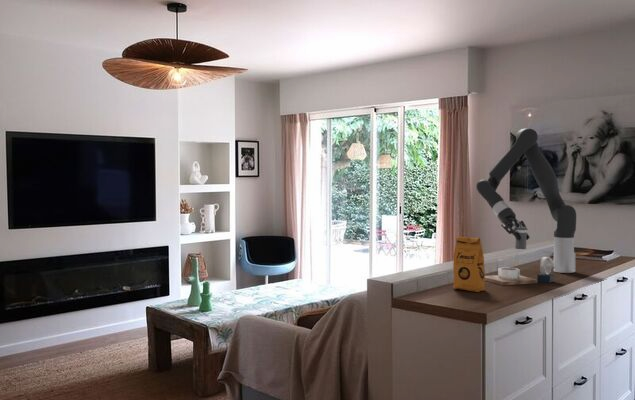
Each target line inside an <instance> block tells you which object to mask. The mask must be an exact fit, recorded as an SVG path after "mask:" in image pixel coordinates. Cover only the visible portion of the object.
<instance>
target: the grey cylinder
mask: <svg viewBox="0 0 635 400" xmlns="http://www.w3.org/2000/svg"><path fill="white" fill-rule="evenodd" d="M527 229H528V228H527V226H526V227H520V226H519V227H516V230H517V232H518V233H519V234H520V236H521V237H522V239H521V240H519V241H518V240H517V239H516V237H515V236H514V237H515V238H514V239H515V240H514V241H515V243H514V247H515V249H516V250H527V243H528V242H527V241H528V240H527V234H528V233H527V232H528V230H527Z"/></svg>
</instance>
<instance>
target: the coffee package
mask: <svg viewBox="0 0 635 400" xmlns="http://www.w3.org/2000/svg"><path fill="white" fill-rule="evenodd" d="M455 240H456V241H455V246H454V251H453V255H452V256H453V257H452V258H453V259H452V260H453V261H452V262H453V263H452V264H453V265H452V266H453V289H458V290H461V291H468V292H475V293H481V292H483V291H485V285H486V284H485V283H486V281H485V276H486V272H485V271H486V270H485V258H484V257H485V256H484V252H483V245H482V242H481V240H482V239H481V238H480V237H466V236H456V238H455ZM480 291H481V292H480Z"/></svg>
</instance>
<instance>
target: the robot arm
mask: <svg viewBox="0 0 635 400" xmlns="http://www.w3.org/2000/svg"><path fill="white" fill-rule="evenodd" d="M538 137H539V135H538V132H537V131H536V130H535V129H534V128H529V127H525V128H521V129H520V130H518V131H517V133H516V136H515V142H514V143H513V145H512V146H511V147H510V149H509V150H508V151H507V152H506V153H505V154H504V155H503V156H502V157H501V158H500V159H499V160H498V161H497V162H496V164H494V166H493V167H492V169H490V171H489V173H488V175H489V177H488V179H480V180H478V182H477V183H476V190H477V192H478V193H479V195H481V197H482V198H483V199H484V200H485V201H486V202H487V204H488V205H489V207H490V209H492V211H493V213H494V215H495V216H496V218H498V220H499V221H500V222H501V227H502V228H503V229H504V230H505V231H506V232H507V233H508V234H509V235H512V236H514V237H516V239H517V240H518V241H519V240H521V239H522V237H521V236H520V234H519V233H518V232H517V230H516V227H527V225H526V223H525V222H524V220H518V219H517V217H516V216H517V214H516V213H515V211H513V209H512V207H511V206H510V205H509V204H508V203H507V202H506V201H505V199H504V198H503V197H502V196H501V195H500V194H499V193H498V192H497V189H498V187H499V185H500V183H501V182H502V180H503V179H504V178H505V176H506V175H507V174H508V173H509V171H510V170H511V169H512V168H513V166H515V164H516V162H518V160H519V159H520V158H521V157H522V156H523V155H524V156H525V158H526V159H527V162H528V165H529V167H530V170H531V172H532V174H533V175H532V176H533V177H534V180H535V181H536V183H537V185H538V187H539V189H540V192H541V193H542V195H543V197H544V199H545V201H546V203H547V206H548V209H549V212H550V214H551V217H552V219H553V220H554V221H555V222H556V229H555V230H554V231H553V261H554V264H553V272H554V273H564V274H571V273H576V255H577V254H576V252H575V233H576V230H577V211H576V209H575V207H573V206H572V205H570V204H566V203H565V201H564V200H563V198H562V196H561V193H560V190H559V183H558V177H557V176H556V173H555V171H554V169H553V167H552V165H551V164H550V162H549V161H548V159H547V158H546V157H545V155H543V153H542V151H541V148H540V147H539V145H538V142H537V141H538ZM527 231H528V228H527ZM530 238H531V237H530V235H529V234H528V233H527V241H528V240H529V239H530Z"/></svg>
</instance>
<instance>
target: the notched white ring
mask: <svg viewBox="0 0 635 400" xmlns="http://www.w3.org/2000/svg"><path fill="white" fill-rule="evenodd" d="M520 271H521V270H520V268H517V267H498V268H497V275H498V278H500V279H507V280H516V279H520V276H521V272H520Z"/></svg>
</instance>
